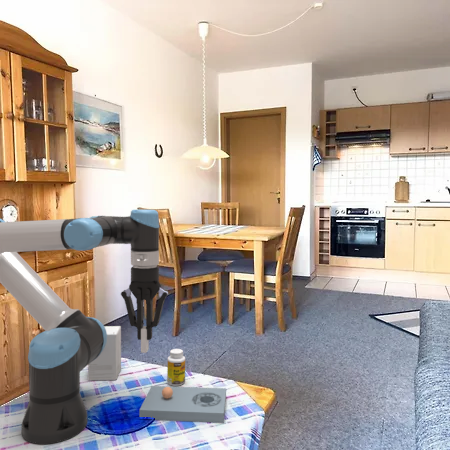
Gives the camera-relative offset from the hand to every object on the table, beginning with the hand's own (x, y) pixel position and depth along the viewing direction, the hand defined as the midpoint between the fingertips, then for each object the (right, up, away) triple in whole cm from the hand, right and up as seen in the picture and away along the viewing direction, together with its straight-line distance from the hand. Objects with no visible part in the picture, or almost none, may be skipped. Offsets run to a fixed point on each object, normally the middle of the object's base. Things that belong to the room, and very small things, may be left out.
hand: (144, 350), depth 112 cm
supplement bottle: (+7, -15, +16) cm, 23 cm away
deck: (+11, -16, 0) cm, 19 cm away
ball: (+6, -12, 0) cm, 13 cm away
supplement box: (-17, -14, +21) cm, 30 cm away
